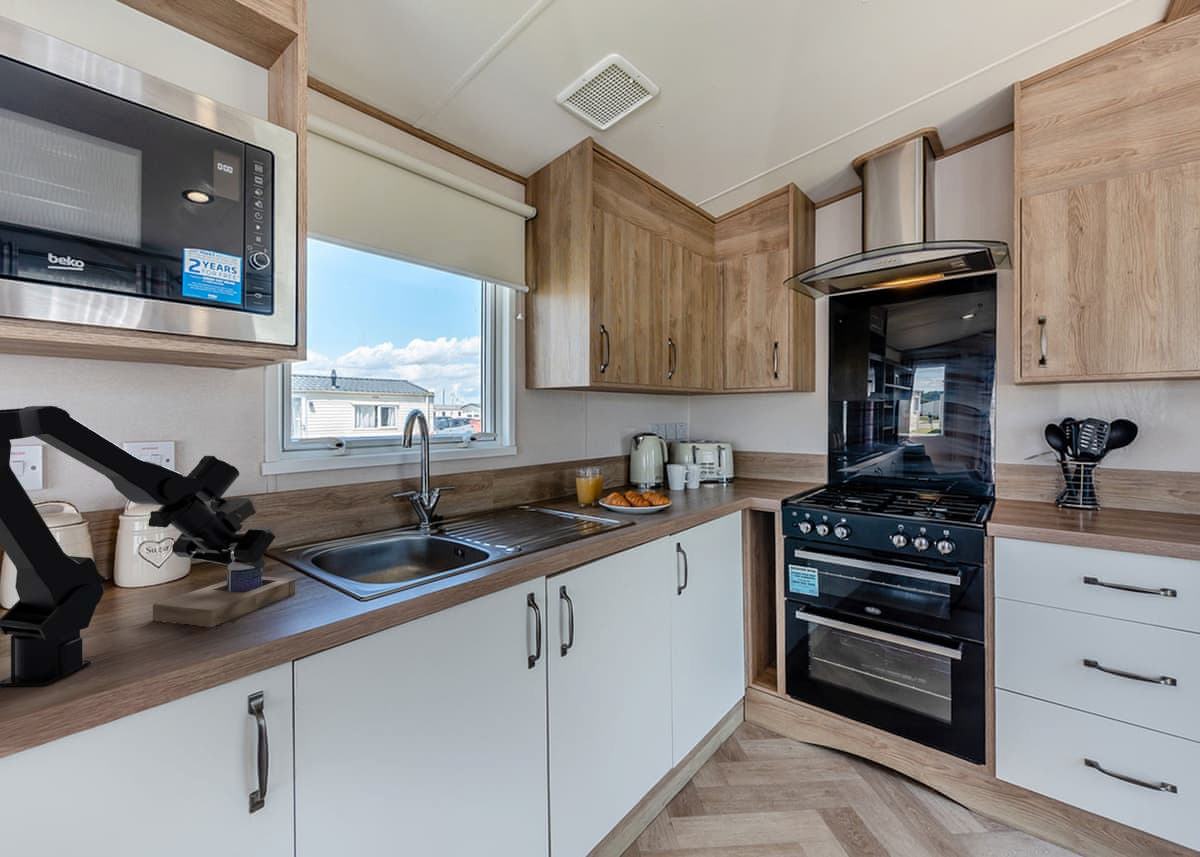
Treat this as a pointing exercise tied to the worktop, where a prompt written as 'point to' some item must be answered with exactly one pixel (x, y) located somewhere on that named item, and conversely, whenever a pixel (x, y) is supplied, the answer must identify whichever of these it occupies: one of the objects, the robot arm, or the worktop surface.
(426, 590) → the worktop surface
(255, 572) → the pill bottle
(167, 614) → the brown block with opening
